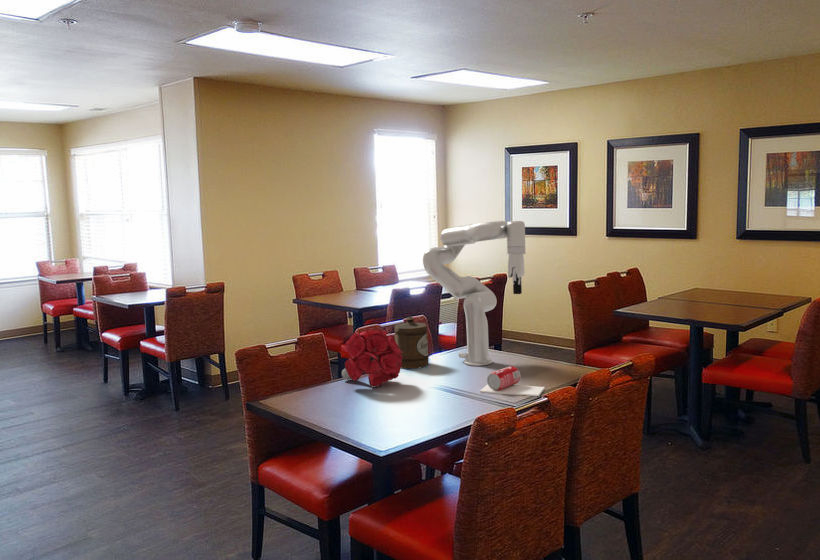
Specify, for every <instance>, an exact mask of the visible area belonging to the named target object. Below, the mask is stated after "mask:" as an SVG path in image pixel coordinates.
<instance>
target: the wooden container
mask: <svg viewBox="0 0 820 560" xmlns="http://www.w3.org/2000/svg"><path fill="white" fill-rule="evenodd" d="M414 319H415V318H414V317H413V316H408V317H406V322H403V323H398V324H395V325H394V339H395V341H396V343H397V345H398V347H399V349H400V351H401V352H402V353H401V354H399V355H402V356H403V359H402V362H401V363H402V366H401V367H402V368H401V369H406V368H413V369H420V368H419V367H421V368H425V367H426V365H427V366H428V365H429V345H428V325H427V324H426V323H424V322H415V321H414ZM424 366H425V367H424Z"/></svg>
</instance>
